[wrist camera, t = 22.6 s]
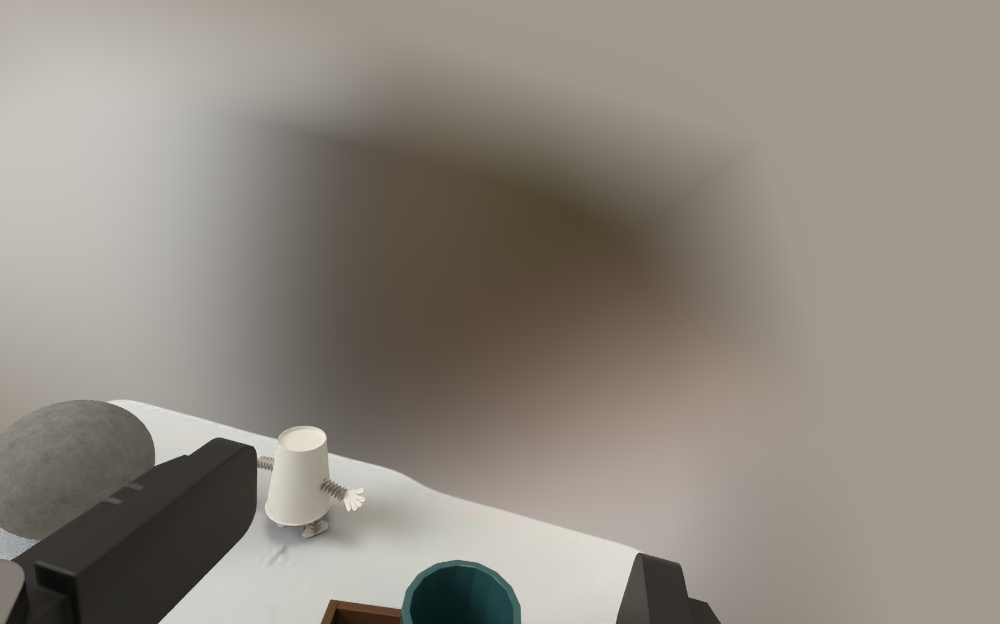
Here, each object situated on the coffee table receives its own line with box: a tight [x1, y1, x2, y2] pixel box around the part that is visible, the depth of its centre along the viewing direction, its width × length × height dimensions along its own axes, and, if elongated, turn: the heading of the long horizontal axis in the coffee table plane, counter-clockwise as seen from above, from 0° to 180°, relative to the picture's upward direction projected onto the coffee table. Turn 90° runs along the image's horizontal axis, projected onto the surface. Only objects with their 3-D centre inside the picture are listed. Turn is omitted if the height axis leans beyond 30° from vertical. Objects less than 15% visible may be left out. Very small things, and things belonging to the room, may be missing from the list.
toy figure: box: [254, 426, 365, 538], centre depth 40 cm, size 12×6×8 cm, turn 72°
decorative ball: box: [0, 400, 155, 540], centre depth 37 cm, size 10×10×10 cm
